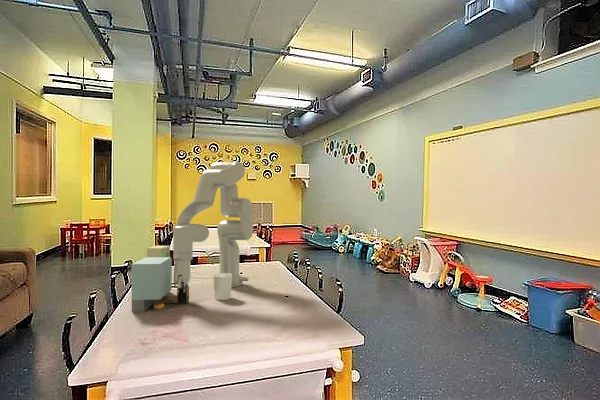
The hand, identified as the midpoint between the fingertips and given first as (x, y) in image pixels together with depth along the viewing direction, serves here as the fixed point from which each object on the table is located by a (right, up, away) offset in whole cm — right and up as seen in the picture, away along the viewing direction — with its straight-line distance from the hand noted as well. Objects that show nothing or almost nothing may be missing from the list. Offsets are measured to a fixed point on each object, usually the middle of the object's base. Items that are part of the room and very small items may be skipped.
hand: (183, 300), depth 162 cm
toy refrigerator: (-15, -1, +15) cm, 21 cm away
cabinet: (-11, -1, -4) cm, 12 cm away
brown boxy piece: (-4, 0, 0) cm, 5 cm away
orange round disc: (-8, -1, -6) cm, 10 cm away
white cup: (+15, -1, +8) cm, 17 cm away
